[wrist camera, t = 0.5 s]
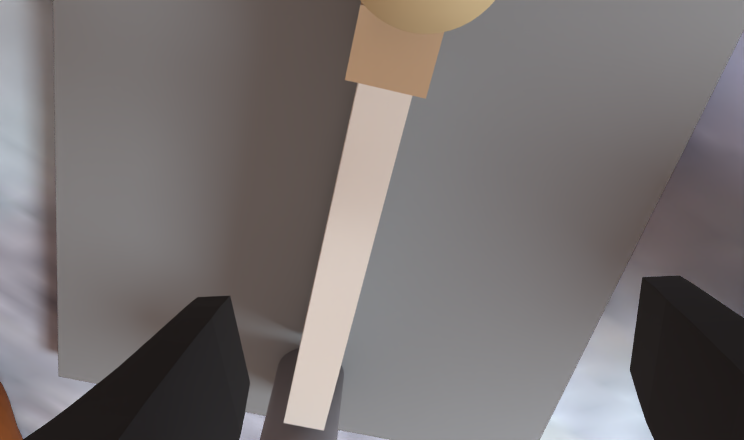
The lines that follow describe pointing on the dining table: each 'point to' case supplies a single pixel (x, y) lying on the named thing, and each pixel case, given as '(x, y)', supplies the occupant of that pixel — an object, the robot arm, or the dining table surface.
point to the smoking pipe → (7, 419)
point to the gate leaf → (357, 201)
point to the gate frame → (403, 199)
